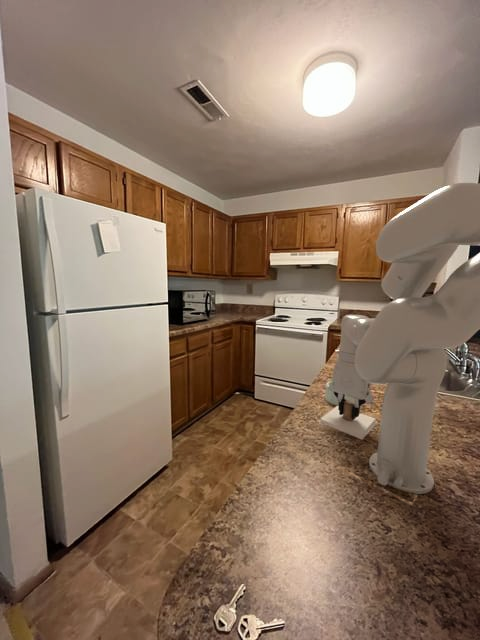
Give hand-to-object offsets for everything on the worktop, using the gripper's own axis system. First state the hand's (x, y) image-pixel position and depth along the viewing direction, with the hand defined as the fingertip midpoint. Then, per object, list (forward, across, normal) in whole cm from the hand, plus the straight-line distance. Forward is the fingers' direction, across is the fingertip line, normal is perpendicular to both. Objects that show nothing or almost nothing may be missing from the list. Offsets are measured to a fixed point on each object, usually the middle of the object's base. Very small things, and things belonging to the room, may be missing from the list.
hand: (348, 414), depth 81 cm
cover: (+2, 0, 0) cm, 2 cm away
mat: (+3, 0, 0) cm, 3 cm away
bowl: (+3, -8, +13) cm, 16 cm away
